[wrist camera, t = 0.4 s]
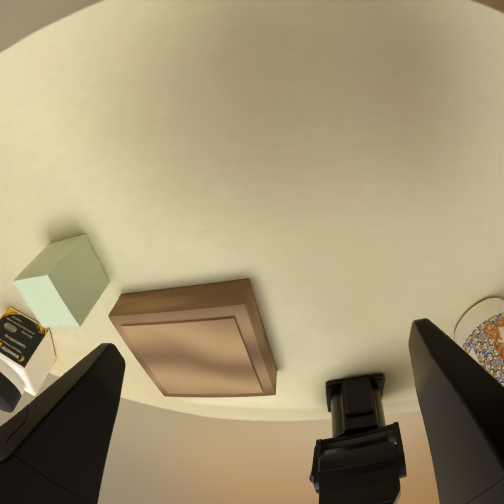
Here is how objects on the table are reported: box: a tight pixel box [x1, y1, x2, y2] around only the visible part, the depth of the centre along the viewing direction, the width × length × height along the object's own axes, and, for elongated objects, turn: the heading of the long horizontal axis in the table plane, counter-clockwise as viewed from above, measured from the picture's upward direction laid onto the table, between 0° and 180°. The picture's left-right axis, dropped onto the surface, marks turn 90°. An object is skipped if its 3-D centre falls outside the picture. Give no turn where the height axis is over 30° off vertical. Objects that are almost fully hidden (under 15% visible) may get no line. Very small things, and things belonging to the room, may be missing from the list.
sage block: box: [13, 234, 110, 327], centre depth 23 cm, size 5×5×6 cm
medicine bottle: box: [0, 307, 56, 412], centre depth 28 cm, size 7×7×12 cm
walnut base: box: [108, 279, 277, 397], centre depth 27 cm, size 12×12×3 cm
